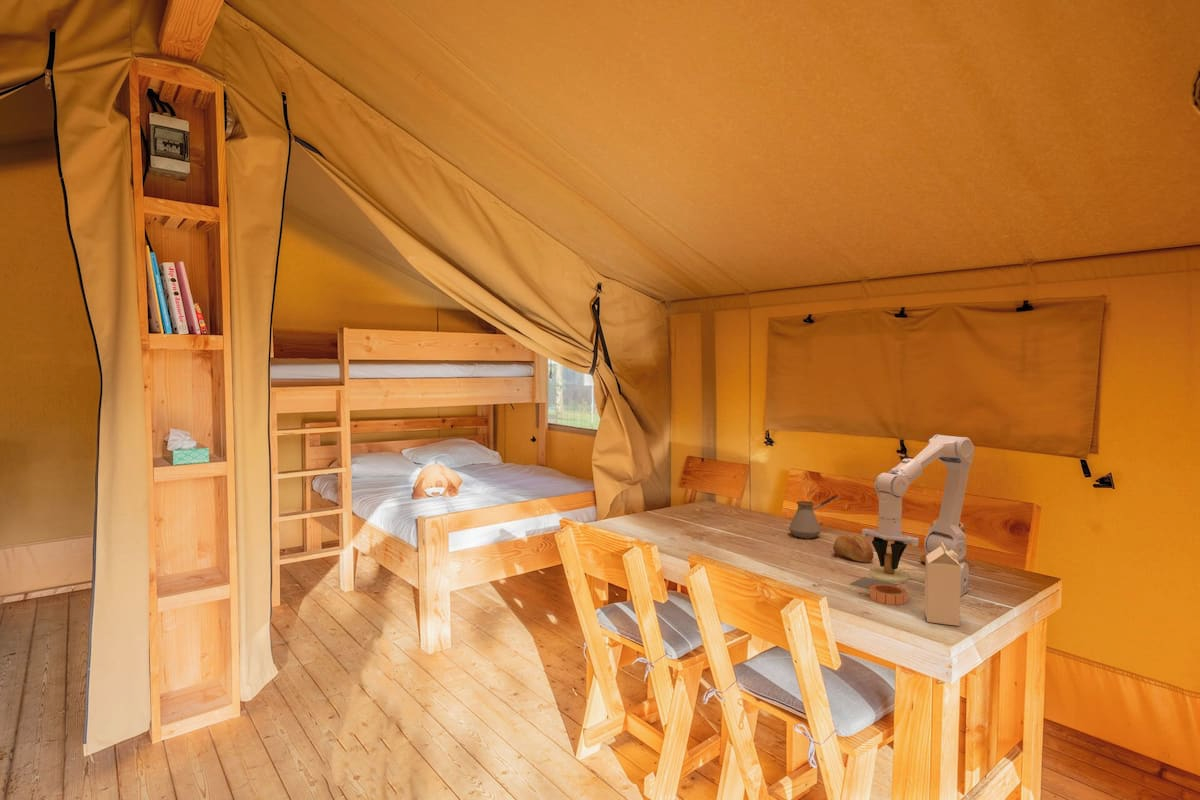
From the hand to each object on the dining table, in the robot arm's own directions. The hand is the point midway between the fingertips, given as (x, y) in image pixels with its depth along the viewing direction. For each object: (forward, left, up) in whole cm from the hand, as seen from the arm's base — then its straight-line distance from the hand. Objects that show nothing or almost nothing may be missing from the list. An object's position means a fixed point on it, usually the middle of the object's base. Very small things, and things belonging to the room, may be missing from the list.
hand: (888, 567), depth 178 cm
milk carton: (-15, +4, -9) cm, 18 cm away
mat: (+8, -9, -9) cm, 15 cm away
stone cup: (+1, -47, -9) cm, 48 cm away
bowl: (0, 0, -9) cm, 9 cm away
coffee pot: (+49, -51, -9) cm, 71 cm away
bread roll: (+25, -31, -10) cm, 41 cm away
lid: (0, 0, -2) cm, 3 cm away
